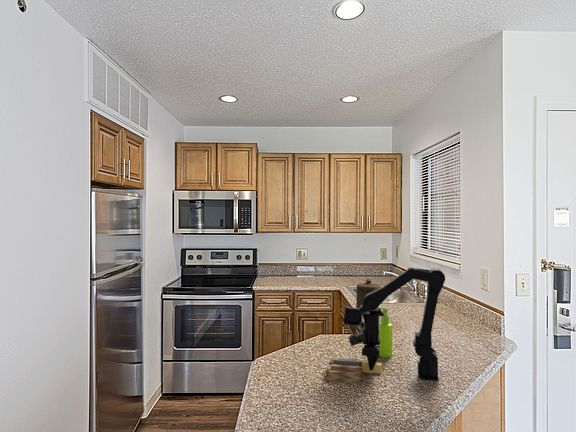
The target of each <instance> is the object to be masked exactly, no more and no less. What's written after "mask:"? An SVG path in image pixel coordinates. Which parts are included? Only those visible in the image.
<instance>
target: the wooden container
mask: <svg viewBox="0 0 576 432" xmlns="http://www.w3.org/2000/svg"><path fill="white" fill-rule="evenodd" d="M379 288H382V285H381V284H378V283H373V282H372V279H371V278H366V279H365V283H363V282H362V283H357V284H356V298H355V299H356V300H355V301H356V303H355V306H356V307H355V308H359V309H360V306H361V305H362V304H363V303H364V298H365V296H366V295H367V294H368V293H370V292H372V291H374V290H377V289H379ZM378 307H382V303H381V304H380V305H379V306H378ZM378 307H377V308H378ZM375 310H379V309H375ZM366 312H370V310H368V311H366ZM362 316H363V317H364V315H362Z"/></svg>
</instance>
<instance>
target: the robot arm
mask: <svg viewBox="0 0 576 432" xmlns="http://www.w3.org/2000/svg"><path fill="white" fill-rule="evenodd" d="M412 280H418V281H422V282H426V287H427V292H426V299H425V304H424V310H423V315H422V320H421V326H420V329H419V331H418V332H417V331H414V339H413V340H412V345H413V347H414V351H415V354H416V355H417V356H418V357H419V361H417V375H418V376H419V379H421V380H430V381H431V380H432V381H440V380H439V361H438V360H439V358H438V355H437V352H436V350H435V349H434V348H433V347H432V339H433V338H432V332H433V325H434V321H435V314H436V310H437V305H438V300H439V299H438V298H439V295H440V293H441V291H442V289H443V287H444V284H445V282H446V275H445V273H444V272H443V271H442V270H441V269H439V268H437V267H436V268H434V267H433V268H430V269H426V268H418V267H417V268H416V267H413V266H412V267H408V268H407V270H405V271H404V272H402V273H400V274H399V275H398V276H396V277H395V278H394V279H392V280H391V281H389V282H388V283H386V284H385V285H384V286H381V288H379V289H377V290H374V291H372V292H370V293H368V294H367V295H366V296H365V298H364V303H363V304H362V305H361V306H360V309H359V308H356V307H350V306H345V307H344V315H343V325H344V326H354V327H355V326H356V327H359V326H360V325H361V324H363V329H362V331H359V332H356V333H355V332H354V333H353V334H349V336H348V340H349V344H350V346H351V347H354V346H356V345H359V344H362V345H363V346H362V348H361V355H362V356H364V357H366V360H367V362H368V364H369V369H370V370H373V368H374V366H375V364H376V363H377V361H378V359H379V357H380V356H379V355H380V346H378V345H379V344H380V337H379V323H380V317H381V316H384V312H383V309H379V310H375V309H376V308H377V307H378V306H379V305H380V304H381V305H382V304H383V303H384V301H385V300H386V299H387V298H388V297H389V296H390V295H392V294H393V293H395V292H396V291H398V290H399V289H401V288H402V287H404V286H405V285H407V284H408V283H410V282H411V281H412ZM368 310H370V312H366V311H368ZM362 315H364V316H362Z"/></svg>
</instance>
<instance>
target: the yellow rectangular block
mask: <svg viewBox="0 0 576 432" xmlns="http://www.w3.org/2000/svg"><path fill="white" fill-rule="evenodd" d="M382 363H383V362H376V364H375V366H374V368H373V370H370V369H369V364H368V361H364V360H363V361H362V373H369V374H379V375H380V374H382V373H383V372H382V371H383V370H382Z"/></svg>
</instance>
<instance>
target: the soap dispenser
mask: <svg viewBox="0 0 576 432" xmlns="http://www.w3.org/2000/svg"><path fill="white" fill-rule="evenodd" d="M376 309H381V310H382V311H383V312H384V316H380V320H381V321H380V322H379V337H380V344H379V345H377V346H380V355H379V357H382V358H392V357H393V324H392V323H391V322H390V315H388V311H390V308H388V307H383V306H381V307H378V308H376Z"/></svg>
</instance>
